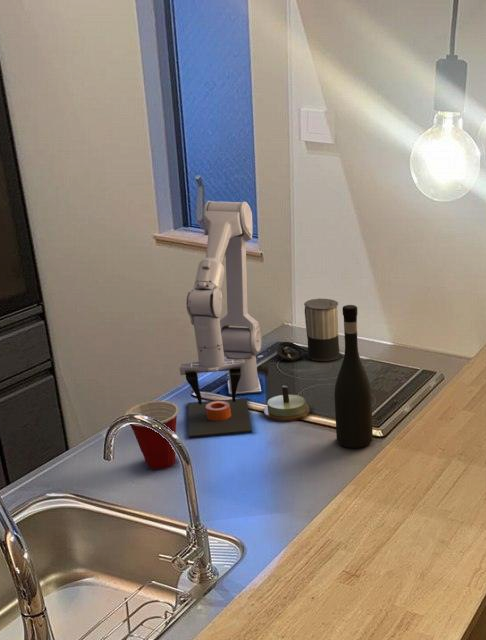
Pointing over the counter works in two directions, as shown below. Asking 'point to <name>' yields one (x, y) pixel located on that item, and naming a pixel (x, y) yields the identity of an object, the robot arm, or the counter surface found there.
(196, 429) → the mat
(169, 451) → the plastic cup
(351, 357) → the wine bottle
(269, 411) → the ring stand
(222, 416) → the ring
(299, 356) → the milk frother
